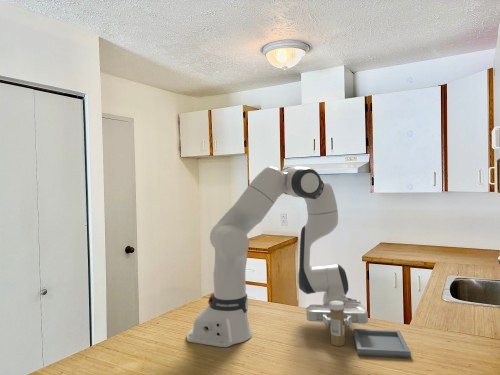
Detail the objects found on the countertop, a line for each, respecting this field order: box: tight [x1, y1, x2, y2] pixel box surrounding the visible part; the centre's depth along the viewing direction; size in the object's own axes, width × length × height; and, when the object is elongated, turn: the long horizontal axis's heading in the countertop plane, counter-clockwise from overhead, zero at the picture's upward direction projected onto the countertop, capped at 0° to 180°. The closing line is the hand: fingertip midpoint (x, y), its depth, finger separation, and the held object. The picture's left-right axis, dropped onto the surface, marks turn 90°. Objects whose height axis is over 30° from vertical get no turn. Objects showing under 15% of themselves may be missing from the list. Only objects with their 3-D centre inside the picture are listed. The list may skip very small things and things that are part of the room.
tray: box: [352, 328, 412, 359], centre depth 117 cm, size 15×15×2 cm
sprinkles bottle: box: [330, 301, 346, 347], centre depth 119 cm, size 5×5×13 cm
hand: (337, 323), depth 118 cm, fingers closed on sprinkles bottle, 4 cm apart
